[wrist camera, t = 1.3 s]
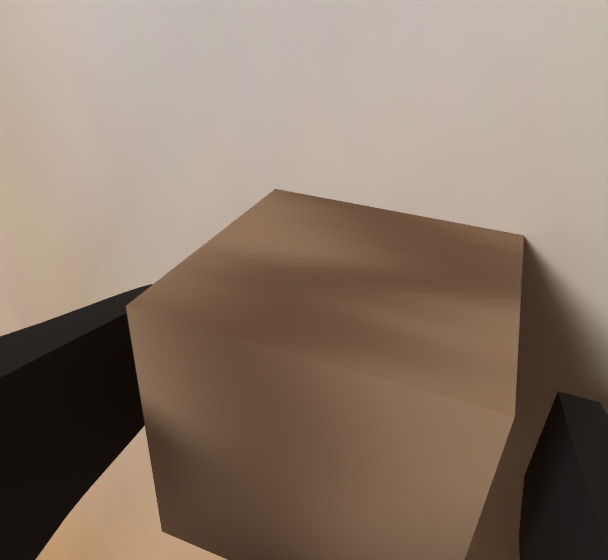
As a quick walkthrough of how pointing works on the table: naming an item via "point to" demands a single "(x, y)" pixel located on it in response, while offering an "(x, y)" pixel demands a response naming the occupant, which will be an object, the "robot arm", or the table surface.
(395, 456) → the walnut cube
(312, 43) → the table surface
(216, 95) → the table surface
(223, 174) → the table surface
